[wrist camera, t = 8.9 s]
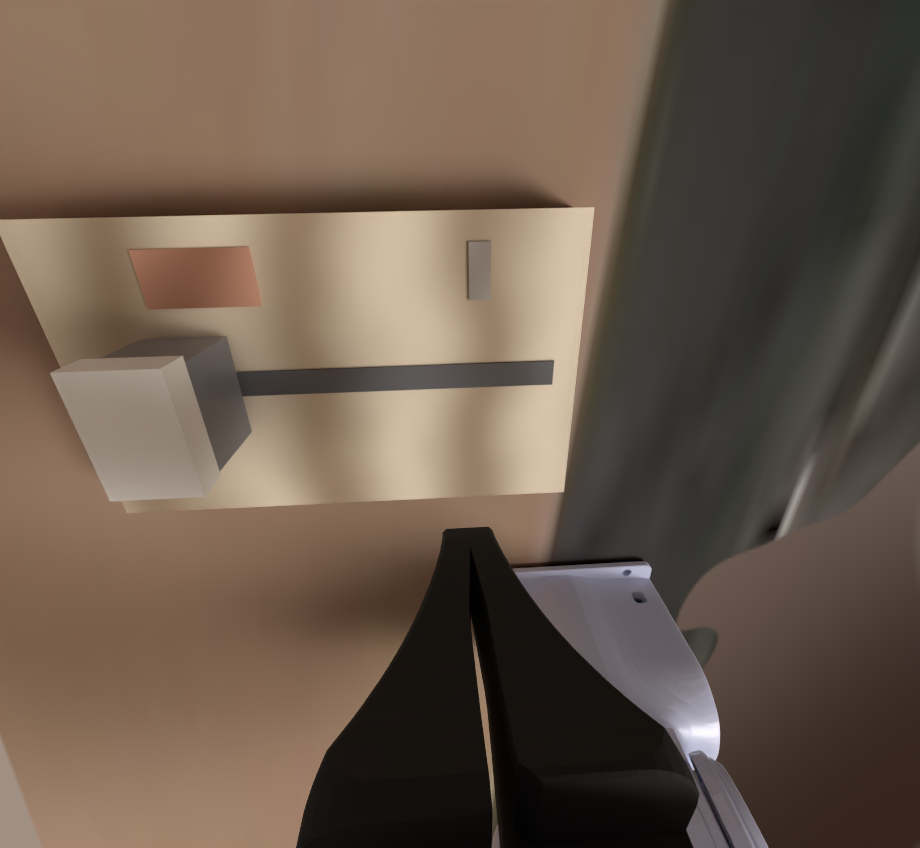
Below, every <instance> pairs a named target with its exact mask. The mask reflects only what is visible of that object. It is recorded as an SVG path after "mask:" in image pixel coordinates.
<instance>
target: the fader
mask: <svg viewBox="0 0 920 848" xmlns="http://www.w3.org/2000/svg"><path fill="white" fill-rule="evenodd" d="M50 375H51V377H52V379H53V381H54V383H55V385H56V388H57V390H58V392H59V394H60V396H61V398H62V400H63V402H64V405H65V407H66V409H67V411H68V413H69V415H70V417H71V419H72V422H73V424H74V426H75V428H76V430H77V432H78V434H79V436H80V439H81V441H82V443H83V445H84V447H85V449H86V451H87V453H88V455H89V458H90V460H91V462H92V464H93V466H94V468H95V470H96V472H97V475H98V477H99V479H100V481H101V483H102V485H103V487H104V489H105V492H106V494H107V496H108V498H109V500H110V502H112V501H133V500H154V499H174V498H195V497H206V495H207V494H208V493H209V492H210V490H211V489H212V488H213V486H214V485H215V484H216V483H217V481H218V480H219V479H220V478H221V474H220V471H221V470H222V468H223V467H224V466H225V465H226V463H227V462H228V461H229V460H230V458H231V457H232V456H233V455H234V453H235V452H236V451H237V450H238V448H239V447H240V446H241V445H242V444H243V442H244V441H245V440H246V439H247V437H248V436H249V435H250V434H251V432H252V430H251V427H250V423H249V419H248V415H247V412H246V408H245V404H244V400H243V396H242V393H241V389H240V385H239V381H238V378H237V374H236V370H235V366H234V363H233V359H232V355H231V351H230V348H229V344H228V340H227V336H212V337H181V338H150V339H141V340H139V341H137V342H135V343H132V344H130V345H128V346H126V347H123V348H121V349H119V350H117V351H115V352H112V353H110V354H108V355H106V356H104V357H101V358H99V359H80V360H78V361H76V362H73V363H71V364H69V365H66V366H64V367H62V368H59V369H57V370H55V371H52V372H50Z"/></svg>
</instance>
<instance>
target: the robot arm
mask: <svg viewBox="0 0 920 848" xmlns="http://www.w3.org/2000/svg"><path fill="white" fill-rule="evenodd" d="M625 570H626V571H625ZM650 574H651V567H650V566H649V564H648V563H647V562H645V561H638V562H620V563H603V564H585V565H567V566H549V567H532V568H514V569H512V568H511V566H510V564H509V563H508V561H507V559H506V557H505V556H504V554H503V552H502V550H501V548H500V546H499V544H498V542H497V540H496V538H495V536H494V534H493V531H492V529H490V528H489V527H476V528H457V529H446V530H445V531H444V532H443V538H442V545H441V550H440V554H439V558H438V561H437V565H436V568H435V571H434V573H433V576H432V579H431V582H430V585H429V588H428V590H427V592H426V595H425V597H424V599H423V602H422V604H421V607H420V609H419V611H418V613H417V615H416V618H415V620H414V622H413V624H412V626H411V628H410V630H409V632H408V633H407V635H406V637H405V639H404V641H403V643H402V645H401V646H400V648H399V650H398V651H397V653H396V655H395V657H394V658H393V660H392V662H391V663H390V665H389V667H388V668H387V670H386V671H385V673H384V675H383V676H382V678H381V679H380V680H379V682H378V683H377V685H376V686H375V688H374V689H373V691H372V692H371V693H370V695H369V696H368V698H367V699H366V701H365V702H364V704H363V705H362V706H361V708H360V709H359V711H358V712H357V713H356V715H355V716H354V717H353V718H352V720H351V721H350V722H349V723H348V725H347V726H346V727H345V728H344V730H343V731H342V732H341V733H340V735H339V736H338V737H337V739H336V740H335V741H334V742H333V744H332V745H331V746H330V747H329V749H328V750H327V752H326V754H325V756H324V758H323V761H322V763H321V765H320V768H319V770H318V772H317V775H316V777H315V780H314V783H313V785H312V788H311V791H310V794H309V797H308V800H307V803H306V807H305V810H304V814H303V818H302V823H301V827H300V832H299V837H298V841H297V846H296V848H491V845H492V848H768V846H767V844H766V842H765V840H764V838H763V836H762V834H761V832H760V830H759V828H758V827H757V825H756V823H755V821H754V819H753V817H752V815H751V813H750V811H749V809H748V808H747V806H746V804H745V802H744V800H743V798H742V797H741V795H740V793H739V791H738V790H737V788H736V786H735V785H734V783H733V781H732V779H731V777H730V776H729V774H728V773H727V771H726V770H725V768H724V767H723V766H722V765H721V764H720V763H719V762H717V761H715V760H716V758H717V756H718V752H719V746H720V727H719V719H718V714H717V710H716V706H715V703H714V699H713V696H712V693H711V690H710V687H709V685H708V682H707V679H706V677H705V675H704V673H703V670H702V668H701V666H700V665H699V663H698V661H697V659H696V657H695V656H694V654H693V652H692V651H691V649H690V647H689V645H688V644H687V642H686V640H685V639H684V637H683V635H682V633H681V632H680V630H679V628H678V627H677V625H676V623H675V621H674V620H673V618H672V616H671V615H670V613H669V611H668V609H667V608H666V606H665V604H664V603H663V601H662V599H661V597H660V596H659V594H658V592H657V591H656V589H655V587H654V585H653V584H652V582H651V580H650V579H649V578H650ZM471 617H472V623H473V629H474V634H475V640H476V645H477V651H478V657H479V662H480V668H481V673H482V679H483V684H484V690H485V696H486V703H487V711H488V722H489V732H490V743H491V753H492V764H493V775H494V786H495V797H496V809H497V820H498V825H497V828H496V831H495V833H494V837H493V842H492V801H491V791H490V781H489V771H488V764H487V757H486V749H485V742H484V734H483V727H482V719H481V711H480V703H479V695H478V687H477V678H476V670H475V661H474V652H473V643H472V634H471ZM693 770H695V772H696V775H697V777H698V779H699V781H700V785H701V787H700V785H699V783H698V780H697V779H696V776H695V774H694V772H693ZM701 788H702V789H701ZM702 790H703V791H702Z"/></svg>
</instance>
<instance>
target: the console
mask: <svg viewBox="0 0 920 848" xmlns="http://www.w3.org/2000/svg"><path fill="white" fill-rule="evenodd" d="M594 208H595V207H567V208H520V209H472V210H425V211H377V212H330V213H282V214H235V215H187V216H140V217H92V218H47V219H11V220H0V237H1V239H2V241H3V243H4V245H5V247H6V250H7V252H8V254H9V256H10V258H11V261H12V263H13V265H14V267H15V269H16V272H17V274H18V276H19V278H20V280H21V283H22V285H23V287H24V289H25V291H26V294H27V296H28V298H29V300H30V302H31V304H32V307H33V309H34V311H35V313H36V315H37V318H38V320H39V322H40V324H41V326H42V329H43V331H44V333H45V335H46V337H47V340H48V342H49V344H50V346H51V348H52V350H53V353H54V355H55V357H56V359H57V361H58V364H59V366H60V368H62V367H64V366H66V365H69V364H71V363H73V362H76V361H78V360H80V359H99V358H101V357H104V356H106V355H108V354H110V353H112V352H115V351H117V350H119V349H121V348H123V347H126V346H128V345H130V344H132V343H135V342H137V341H139V340H141V339H150V338H181V337H212V336H227V340H228V344H229V348H230V351H231V355H232V359H233V363H234V366H235V370H236V374H237V378H238V381H239V385H240V389H241V393H242V396H243V400H244V404H245V408H246V412H247V415H248V419H249V423H250V427H251V430H252V432H251V434H250V435H249V436H248V437H247V439H246V440H245V441H244V442H243V444H242V445H241V446H240V447H239V448H238V450H237V451H236V452H235V453H234V455H233V456H232V457H231V458H230V460H229V461H228V462H227V463H226V465H225V466H224V467H223V468H222V470H221V471H220V474H221V478H220V479H219V480H218V481H217V483H216V484H215V485H214V486H213V488H212V489H211V490H210V492H209V493H208V494H207V495H206V497H195V498H174V499H154V500H133V501H121V502H122V504H123V506H124V508H125V510H126V513H143V512H163V511H184V510H204V509H224V508H245V507H265V506H285V505H306V504H326V503H347V502H367V501H387V500H408V499H428V498H449V497H469V496H489V495H510V494H530V493H550V492H564V484H565V475H566V466H567V457H568V447H569V438H570V429H571V420H572V411H573V401H574V392H575V383H576V374H577V365H578V355H579V346H580V337H581V328H582V318H583V309H584V300H585V291H586V282H587V272H588V263H589V254H590V245H591V236H592V226H593V217H594Z"/></svg>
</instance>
